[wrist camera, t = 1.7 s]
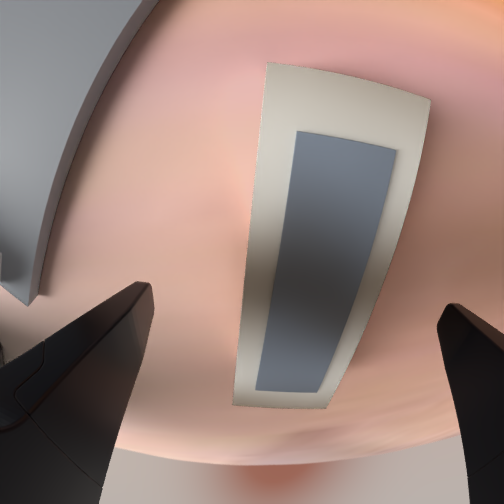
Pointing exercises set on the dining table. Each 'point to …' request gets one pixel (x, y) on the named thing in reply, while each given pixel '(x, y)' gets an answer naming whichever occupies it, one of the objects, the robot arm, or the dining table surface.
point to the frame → (321, 228)
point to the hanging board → (49, 113)
